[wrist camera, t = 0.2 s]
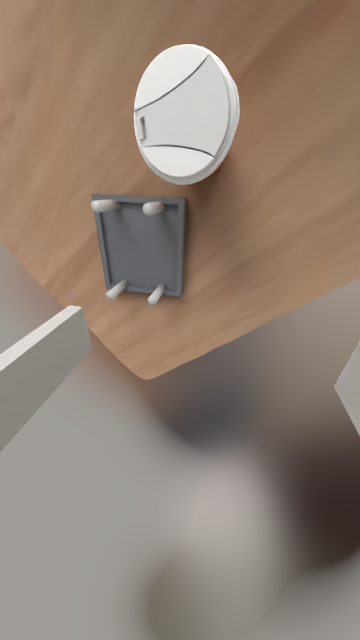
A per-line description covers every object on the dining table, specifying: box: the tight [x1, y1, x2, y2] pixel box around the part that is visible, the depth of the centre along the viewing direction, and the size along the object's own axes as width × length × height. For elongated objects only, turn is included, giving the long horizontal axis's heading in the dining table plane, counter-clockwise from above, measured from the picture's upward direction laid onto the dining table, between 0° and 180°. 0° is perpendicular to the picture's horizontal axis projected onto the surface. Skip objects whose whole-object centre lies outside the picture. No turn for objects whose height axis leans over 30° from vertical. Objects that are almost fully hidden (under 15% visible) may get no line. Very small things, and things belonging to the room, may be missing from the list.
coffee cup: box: [134, 44, 240, 185], centre depth 22 cm, size 8×8×15 cm
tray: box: [91, 194, 187, 305], centre depth 34 cm, size 15×14×7 cm
